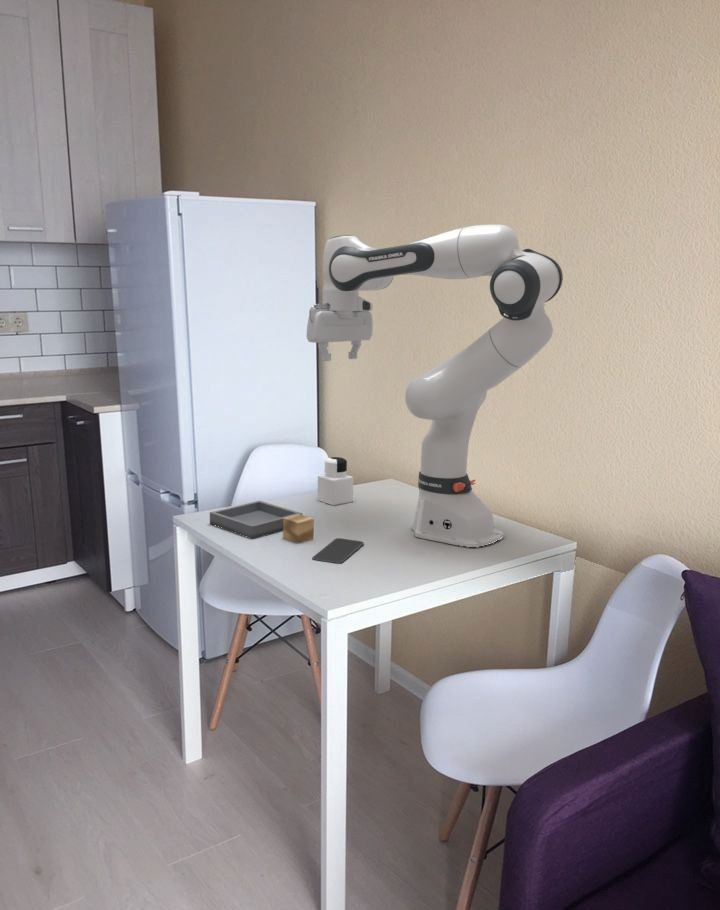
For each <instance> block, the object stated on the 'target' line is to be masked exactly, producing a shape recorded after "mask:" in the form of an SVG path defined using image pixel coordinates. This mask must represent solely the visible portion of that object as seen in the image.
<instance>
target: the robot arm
mask: <svg viewBox="0 0 720 910" xmlns="http://www.w3.org/2000/svg"><path fill="white" fill-rule="evenodd" d="M322 257H323V259H322V274H323V275H322V276H323V278H324V281H323V282H324V283H323V287H322V303H315V304H313V305H311V307H310V309H309V311H308V312H309V313H308V314H309V315H308V318H307V325H306V339H307V341H308V342H309V343H316V344H317V347H318V349H319V351H320V353H321V361H322V362H331V360H332V354H331V353H329V350H328V348H329V343H339V342H340V343H341V342H351V343H350V344H351V345H352V346H351V349H350V351H348V359H349V360H357V359H358V352H359V350H360V348H361V345H362V341H370V340H371V339H372V336H373V325H374V324H373V323H374V322H373V314H372V313H371V311H373V307H374V306H373V303H372V302H371V301H370V300H367V299H366V298H363V297H361V296H359V293H360V292H359V291H364V292H365V291H380V290H383V289H386V288H387V287H389V286H390V285H391V283H392V281H393V279H394V276H395V277H396V276H402V275H403V276H404V275H405V276H406V275H409V276H420V277H421V276H422V277H427V278H429V277H430V278H434V279H435V278H436V279H441V280H442V279H443V280H469V279H474V278H480V277H490V281H489V292H490V295H491V297H492V300H493V302H494V303H495V305H496V306H497V308H498V311H499V313H500V315H501V316H502V318H501V319H500V320H499V321H498V322H497V323H495V324H494V325H493V326H492V327H491V328H489V329H488V330H486V332H484V333H483V334H482V335H481V336H480V337H478V338H477V339H475V340H474V341H473V342H472V343H471V344H469V345H468V346H467V347H466V348H464V349H462V350H461V351H459V352H457V353H456V354H454V355H452V356H451V357H449V358H448V359H445V361H442V362H441V363H439V364H438V365H437V366H435V367H433V368H432V369H430V370H429V371H426V373H423V374H422V375H420V376H418V377H417V378H414V379H412V381H410V382H409V384H408V385H407V387H406V390H405V395H404V396H405V397H404V399H405V400H404V401H405V404H406V407H407V409H408V411H409V412H410V413H411V414H412V415H413V416H414V417H415V418H419V419H423V420H428V421H432V422H431V425H430V426H429V429H428V431H427V432H426V434H425V435H424V437H423V438H422V441H421V451H420V452H421V456H420V471H419V472H418V481H417V487H418V500H417V505H416V511H415V516H414V519H413V523H412V525H411V529H412V531H413V532H414V537H416V538H420V539H424V540H429V541H434V542H439V543H445V544H450V545H454V546H458V545H459V546H458V547H463V546H466V547H465V548H469V547H476V548H478V547H477V546H482V545H486V544H489V543H492V542H494V541H496V540H498V539H500V538H501V537H502V536H503V537H504V532H503V531H501V530H498V529H495V522H494V515H493V512H492V510H491V509H490V508H489V507H488V506H487V505H486V504H485V503H484V502H483V501H482V500H481V499H480V498H479V497H478V496H477V495H476V494H475V493H474V492H473V488H472V486H473V485H476V482H475V481H476V479H471V480H470V477H469V475H468V473H467V465H468V452H469V444H470V439H471V433H472V430H473V428H474V423H475V421H476V417H477V414H478V412H479V410H480V408H481V406H482V405H483V403H484V402H485V400H486V398H487V395H488V393H487V392H488V391H489V390H491V389H493V388H495V387H497V386H499V385H500V384H501V383H502V382H504V381H505V380H506V379H508V378H509V377H510V376H511V375H513V374H514V373H516V372H517V371H518V370H520V369H521V368H522V367H523V366H524V365H526V364H527V363H528V362H530V361H531V360H532V359H533V358H534V357H535V356H537V354H539V352H541V351H542V349H543V348H544V347H545V346H546V345H547V344H548V342H550V340H551V339H552V336H553V332H554V330H553V329H554V328H553V325H552V321H551V319H550V318H549V316H548V315H547V313H546V311H545V304H544V303H547V302H549V301H551V300H552V299H553V298H555V296H556V295H557V294H558V293H559V291H560V290H561V288H562V285H563V278H564V277H563V271H562V268H561V265H559V263H558V262H557V261H556V260H554V259H553V258H552V257H550V256H548V255H546V254H543V253H541V252H538V251H535V250H533V249H531V248H525V249H521V248H520V245H519V240H518V237H517V235H516V233H515V231H514V230H513V228H511V227H510V226H508V225H506V224H493V223H492V224H478V225H477V224H476V225H472V226H464V227H461V228H455V229H453V230H449V231H445V232H442V233H438V234H436V235H434V236H430V237H427V238H424V239H421V240H417V241H414V242H410V243H407V244H402V245H401V244H400V245H396V246H389V247H383V248H378V249H377V248H374V247H371V246H369V245H367V244H365V243H364V242H362V241H361V240H359V239H358V237H357V236H355V235H351V234H343V235H336V236H333V237H331V238H329V239H328V240H327V241H326V242H325V246H324V251H323V256H322ZM504 314H505V315H504ZM498 535H499V536H498Z"/></svg>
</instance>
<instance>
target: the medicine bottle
mask: <svg viewBox="0 0 720 910" xmlns="http://www.w3.org/2000/svg"><path fill="white" fill-rule="evenodd" d="M347 471H348V461H347V459H345V458H343V457H341V456H332V457H328V458H326V459H325V460H324V473H322V474H318V475H317V501H319V502H322V503H325V504H328V505H330V506H337V505H343V504H348V503H352V502H354V476H352V475H349V474H347Z"/></svg>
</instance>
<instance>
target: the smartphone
mask: <svg viewBox="0 0 720 910" xmlns="http://www.w3.org/2000/svg"><path fill="white" fill-rule="evenodd" d="M364 545H365V543H364V541H361V540H356V539H355V540H353V539H348V538H347V539H346V538H342V537H341V538H340V537H339V538H334V539H333V540H332V541H330V543H328V544H327V545H325V546H324V547H323V548H322V549H320V551H318V552H317V553H316V554H314V555H313V556H312V558H311V560H312V561H315V562H322V563H323V562H324V563H328V564H336V565H343V563H345V562H346V561H347V560H349V559H350V558H351V557H352V556H353V555H354V554H356V552H359V550H360V549H361V548H363V546H364Z"/></svg>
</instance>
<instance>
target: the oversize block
mask: <svg viewBox="0 0 720 910" xmlns="http://www.w3.org/2000/svg"><path fill="white" fill-rule="evenodd" d="M314 521H315V519H314V518H313V517H310V516H307V515H303V514H302V515H300V514H297V515H294V516H290V517H286V518H283V531H282V532H283V533H282V535H283V537H282V539H283V540H287V541H289V542H293V543H295V544H300V543H303V542H308V541H310V540H314V538H315V537H314V536H315V535H314V532H315V529H314V527H315V525H314V524H315V522H314Z"/></svg>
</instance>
